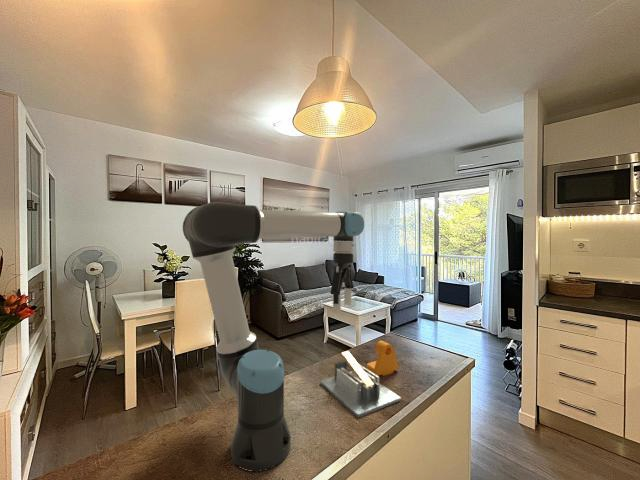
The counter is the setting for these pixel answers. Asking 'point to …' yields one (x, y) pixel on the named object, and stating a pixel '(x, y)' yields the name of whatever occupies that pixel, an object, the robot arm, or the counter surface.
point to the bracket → (383, 360)
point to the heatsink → (358, 391)
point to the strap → (358, 370)
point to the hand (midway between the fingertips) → (342, 308)
